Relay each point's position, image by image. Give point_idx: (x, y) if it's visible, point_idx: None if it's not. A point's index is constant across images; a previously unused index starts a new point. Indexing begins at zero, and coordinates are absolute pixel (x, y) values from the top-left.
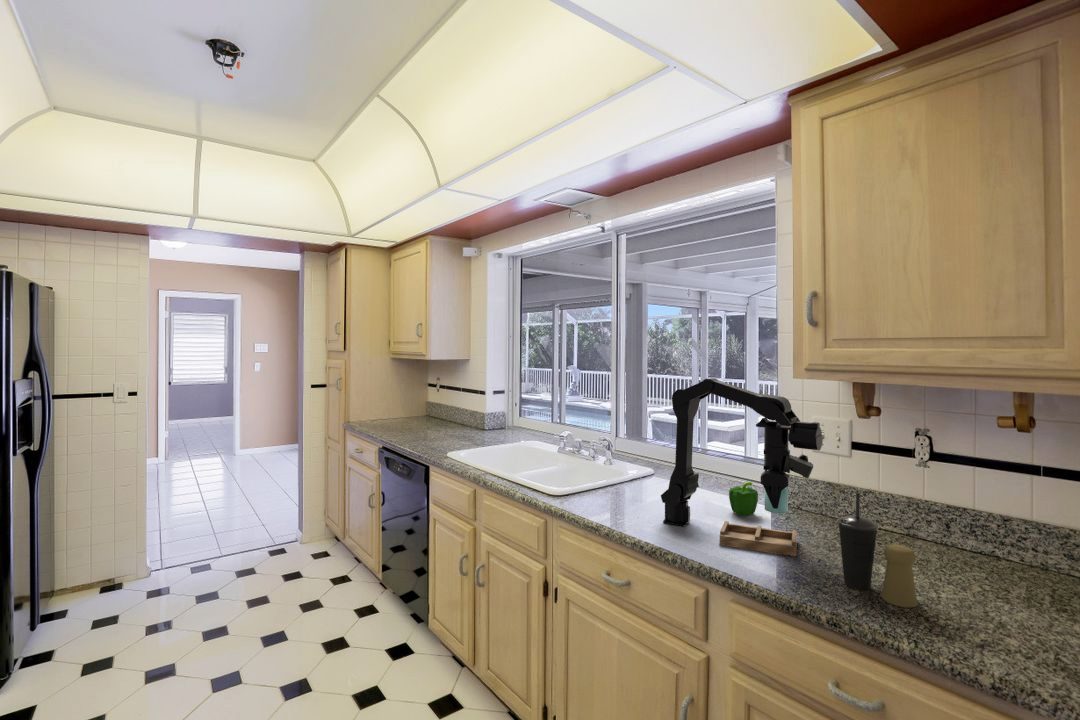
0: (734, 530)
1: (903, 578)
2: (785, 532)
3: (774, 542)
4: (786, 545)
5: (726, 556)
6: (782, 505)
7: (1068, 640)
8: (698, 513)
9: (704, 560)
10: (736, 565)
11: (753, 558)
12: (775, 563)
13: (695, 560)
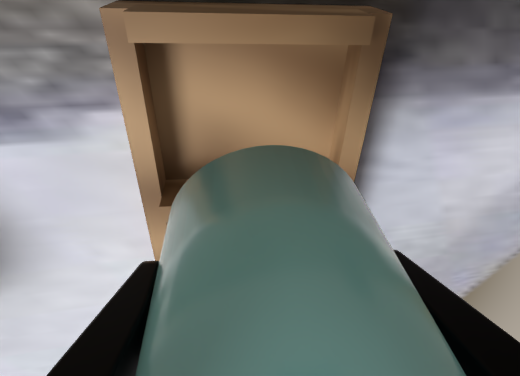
0: None
1: None
2: (141, 81)
3: (348, 129)
4: (378, 70)
5: (419, 244)
6: (385, 237)
7: None
8: (33, 362)
9: (459, 280)
10: (493, 212)
11: (424, 175)
12: (467, 98)
13: (461, 295)
